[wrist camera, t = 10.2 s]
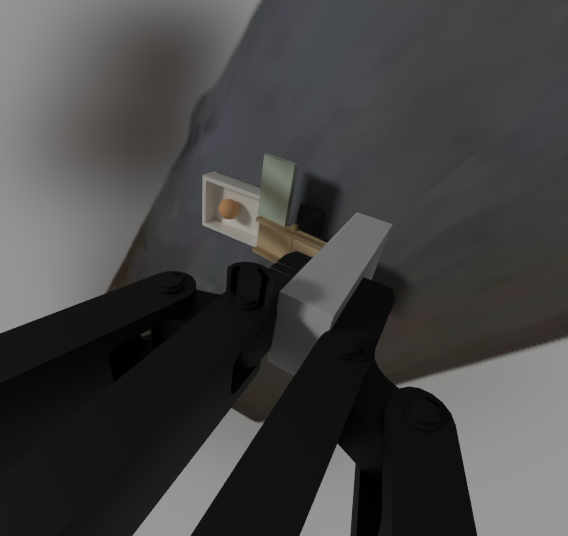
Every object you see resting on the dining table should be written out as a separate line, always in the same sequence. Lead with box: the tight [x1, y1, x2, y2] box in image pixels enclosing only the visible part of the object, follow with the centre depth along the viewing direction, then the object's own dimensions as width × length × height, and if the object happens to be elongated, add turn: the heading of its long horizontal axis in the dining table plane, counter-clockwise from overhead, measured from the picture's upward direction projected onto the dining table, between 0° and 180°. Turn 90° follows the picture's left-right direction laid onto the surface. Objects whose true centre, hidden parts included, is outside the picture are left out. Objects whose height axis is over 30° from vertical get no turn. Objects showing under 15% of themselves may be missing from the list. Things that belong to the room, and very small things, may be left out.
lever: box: [252, 154, 327, 263], centre depth 45 cm, size 16×16×2 cm
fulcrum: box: [297, 204, 325, 238], centre depth 51 cm, size 9×4×5 cm, turn 170°
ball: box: [219, 199, 239, 219], centre depth 56 cm, size 4×4×4 cm
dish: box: [202, 172, 261, 247], centre depth 56 cm, size 9×12×3 cm
